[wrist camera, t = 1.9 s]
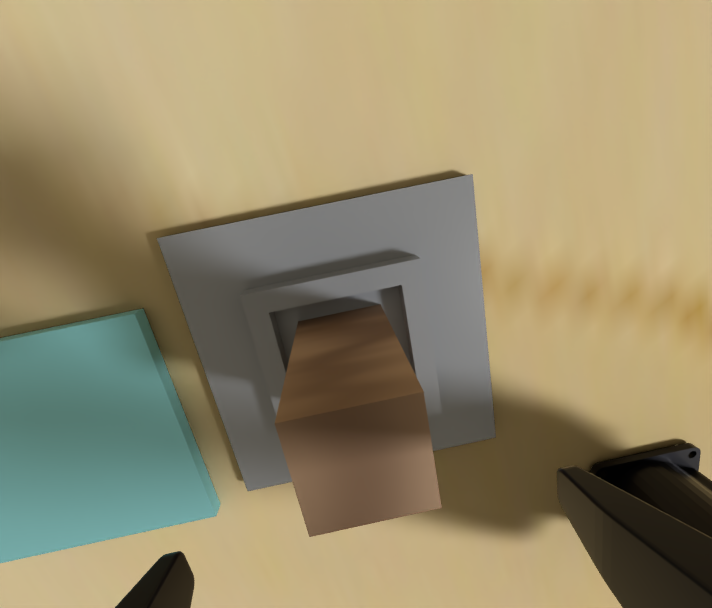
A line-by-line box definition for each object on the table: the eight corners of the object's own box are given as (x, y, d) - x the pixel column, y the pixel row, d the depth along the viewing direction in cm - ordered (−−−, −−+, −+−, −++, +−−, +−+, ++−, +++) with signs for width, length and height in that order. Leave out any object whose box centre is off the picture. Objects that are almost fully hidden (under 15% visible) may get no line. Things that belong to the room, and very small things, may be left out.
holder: (467, 174, 16) (481, 172, 15) (491, 430, 20) (504, 449, 19) (162, 236, 16) (145, 240, 14) (249, 482, 20) (243, 506, 19)
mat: (143, 308, 17) (134, 313, 16) (220, 504, 20) (216, 516, 20) (-112, 361, 17) (-134, 369, 16) (11, 549, 20) (-2, 563, 19)
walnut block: (380, 304, 17) (423, 391, 9) (393, 377, 18) (441, 507, 11) (298, 321, 17) (274, 423, 9) (316, 393, 18) (309, 537, 11)
